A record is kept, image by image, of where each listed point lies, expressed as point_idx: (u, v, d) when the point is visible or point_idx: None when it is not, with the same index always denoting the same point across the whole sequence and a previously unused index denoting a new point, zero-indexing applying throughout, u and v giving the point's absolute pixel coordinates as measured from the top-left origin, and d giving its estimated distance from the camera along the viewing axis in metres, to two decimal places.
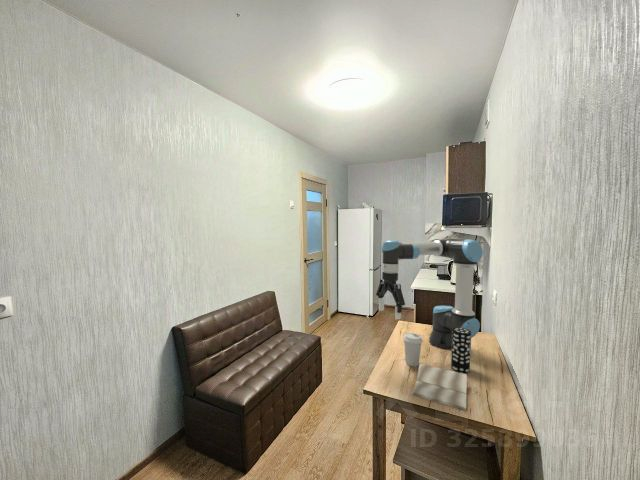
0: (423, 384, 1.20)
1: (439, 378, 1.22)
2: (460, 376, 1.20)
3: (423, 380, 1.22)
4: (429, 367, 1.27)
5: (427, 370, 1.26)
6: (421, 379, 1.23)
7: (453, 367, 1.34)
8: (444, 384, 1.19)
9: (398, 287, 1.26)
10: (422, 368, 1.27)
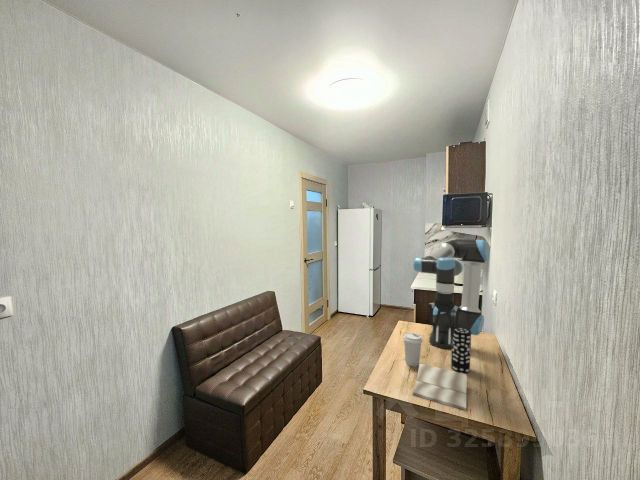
0: (423, 384, 1.20)
1: (439, 378, 1.22)
2: (460, 376, 1.20)
3: (423, 380, 1.22)
4: (429, 367, 1.27)
5: (427, 370, 1.26)
6: (421, 379, 1.23)
7: (453, 367, 1.34)
8: (444, 384, 1.19)
9: None
10: (422, 368, 1.27)
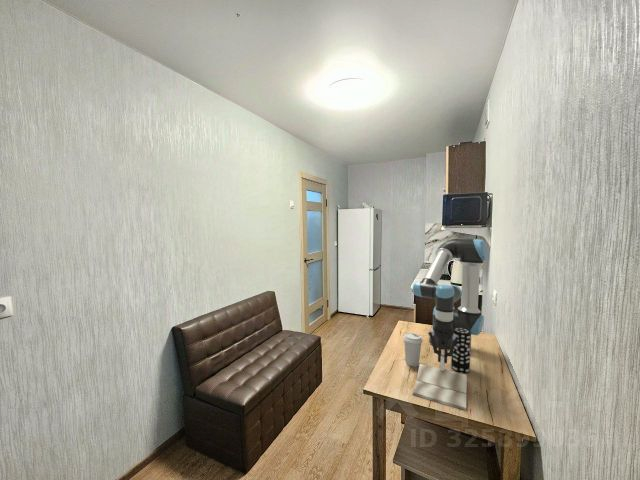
0: (423, 384, 1.20)
1: (439, 378, 1.22)
2: (460, 376, 1.20)
3: (423, 380, 1.22)
4: (429, 367, 1.27)
5: (427, 370, 1.26)
6: (421, 379, 1.23)
7: (453, 367, 1.34)
8: (444, 384, 1.19)
9: None
10: (422, 368, 1.28)
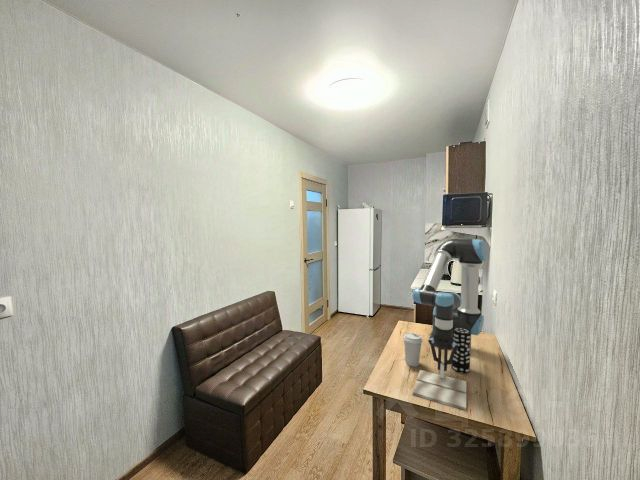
0: (423, 384, 1.20)
1: (439, 380, 1.22)
2: (460, 381, 1.22)
3: (423, 380, 1.23)
4: (429, 372, 1.29)
5: (427, 374, 1.27)
6: (421, 379, 1.24)
7: (453, 367, 1.34)
8: (444, 384, 1.19)
9: None
10: (423, 372, 1.29)
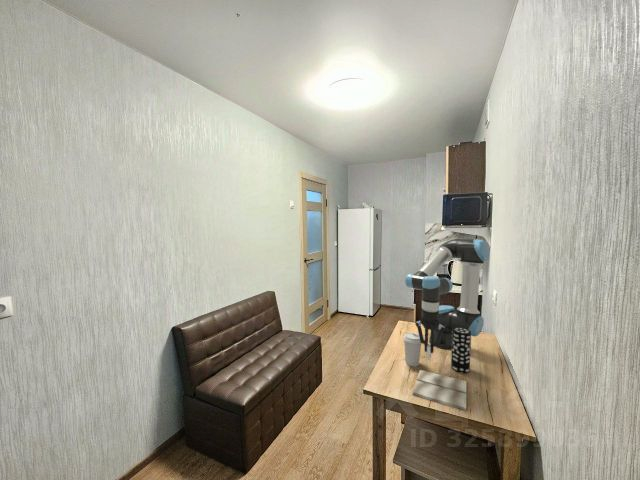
0: (423, 384, 1.20)
1: (439, 380, 1.22)
2: (460, 381, 1.22)
3: (423, 380, 1.23)
4: (429, 372, 1.29)
5: (427, 374, 1.27)
6: (421, 379, 1.24)
7: (453, 367, 1.34)
8: (444, 384, 1.19)
9: None
10: (423, 372, 1.29)
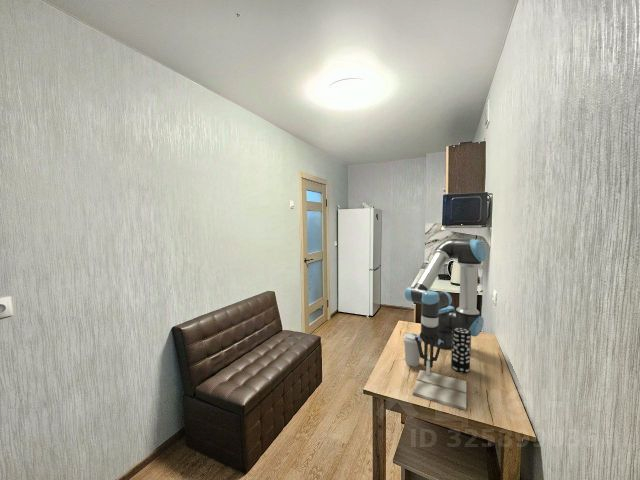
0: (423, 384, 1.20)
1: (439, 380, 1.22)
2: (460, 381, 1.22)
3: (423, 380, 1.23)
4: None
5: None
6: (421, 379, 1.24)
7: (453, 367, 1.34)
8: (444, 384, 1.19)
9: None
10: (423, 372, 1.29)
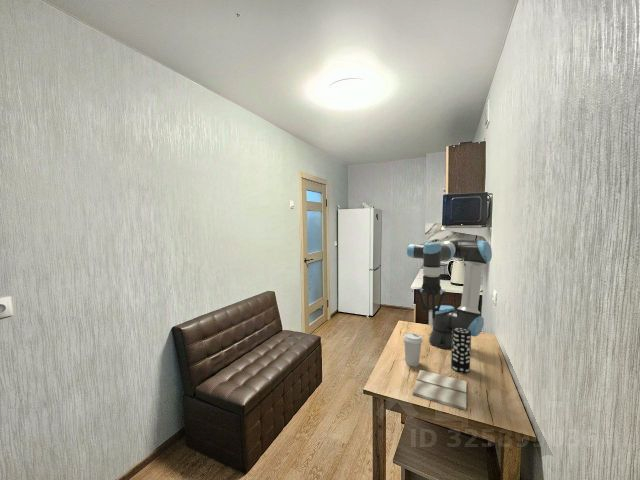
0: (423, 384, 1.20)
1: (439, 380, 1.22)
2: (460, 381, 1.22)
3: (423, 380, 1.23)
4: (429, 372, 1.29)
5: (427, 374, 1.27)
6: (421, 379, 1.24)
7: (453, 367, 1.34)
8: (444, 384, 1.19)
9: None
10: (423, 372, 1.29)
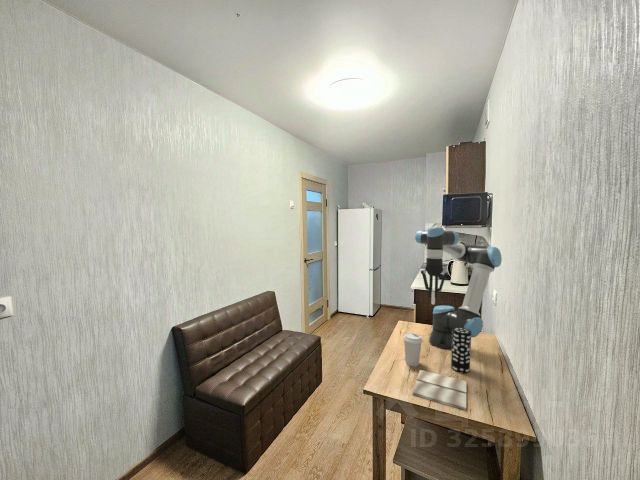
0: (423, 384, 1.20)
1: (439, 380, 1.22)
2: (460, 381, 1.22)
3: (423, 380, 1.23)
4: (429, 372, 1.29)
5: (427, 374, 1.27)
6: (421, 379, 1.24)
7: (453, 367, 1.34)
8: (444, 384, 1.19)
9: None
10: (423, 372, 1.29)
